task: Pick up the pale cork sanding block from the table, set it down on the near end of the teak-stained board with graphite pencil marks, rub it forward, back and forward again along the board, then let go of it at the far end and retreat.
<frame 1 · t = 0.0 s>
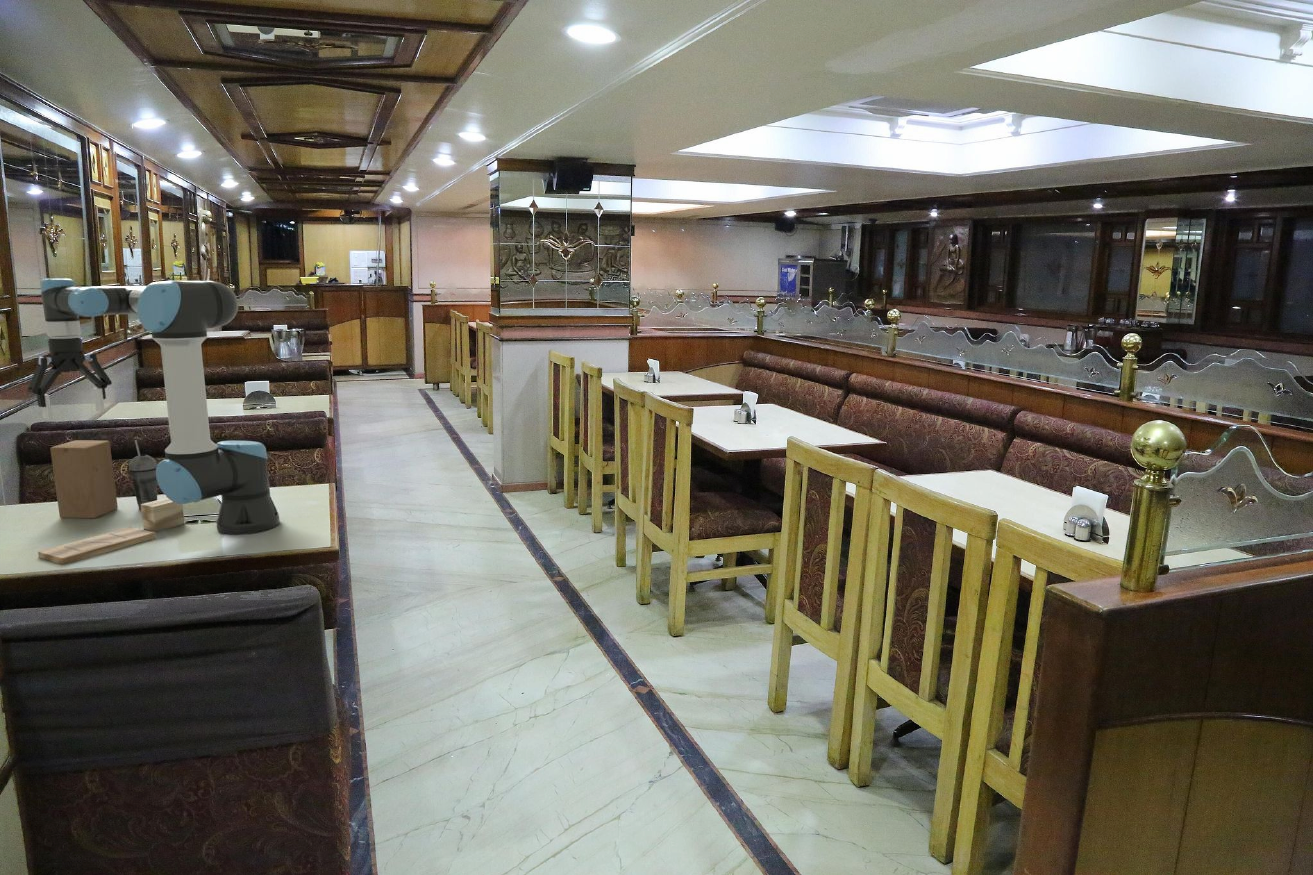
hand: (74, 415, 229), 28 cm above the table, fingers open, 13 cm apart
beverage cup: (148, 508, 240), on the table
wooden block: (89, 514, 235), on the table
board: (99, 547, 206), on the table
sanding block: (164, 527, 223), on the table
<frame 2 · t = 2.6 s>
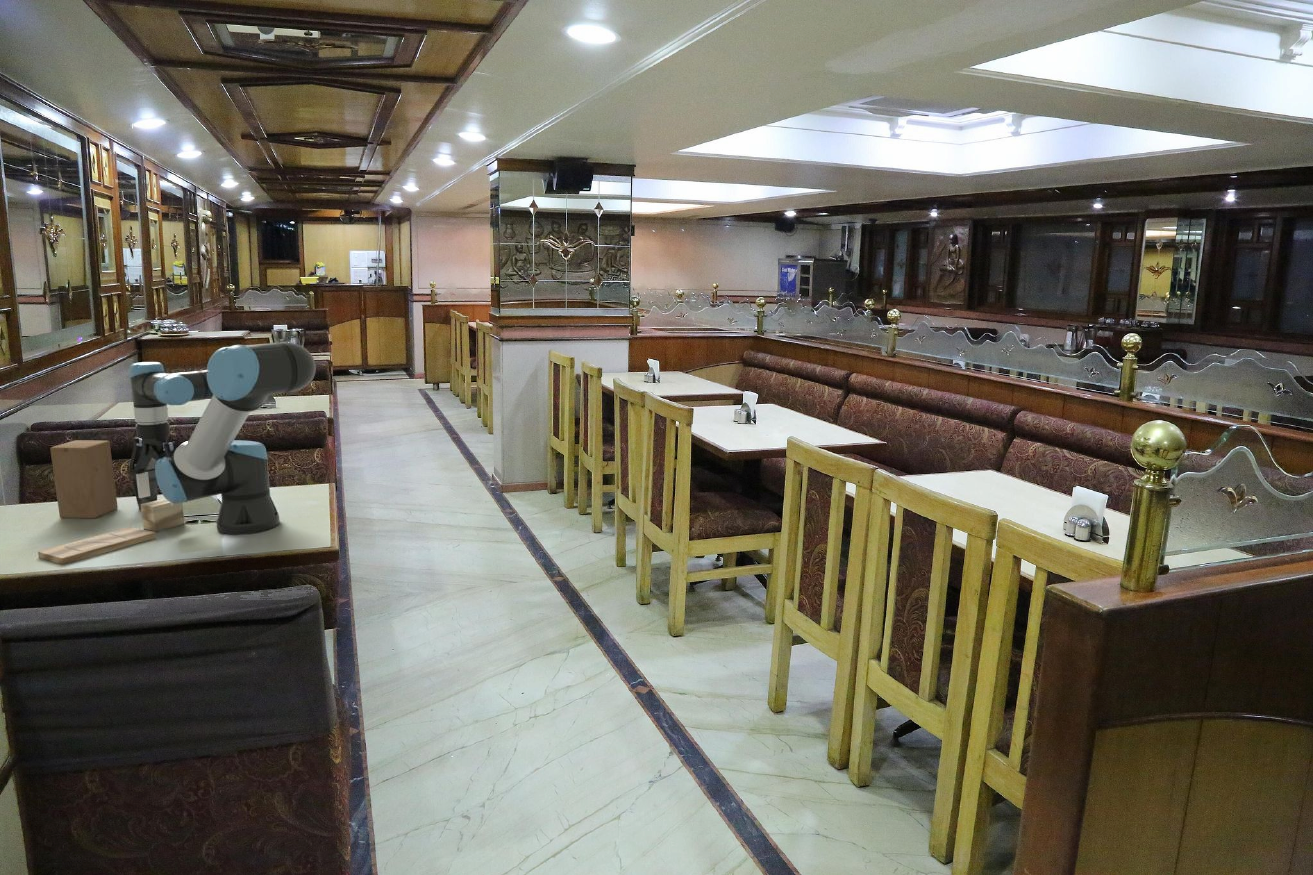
hand: (160, 500, 222), 7 cm above the table, fingers open, 13 cm apart
nothing on the table moved.
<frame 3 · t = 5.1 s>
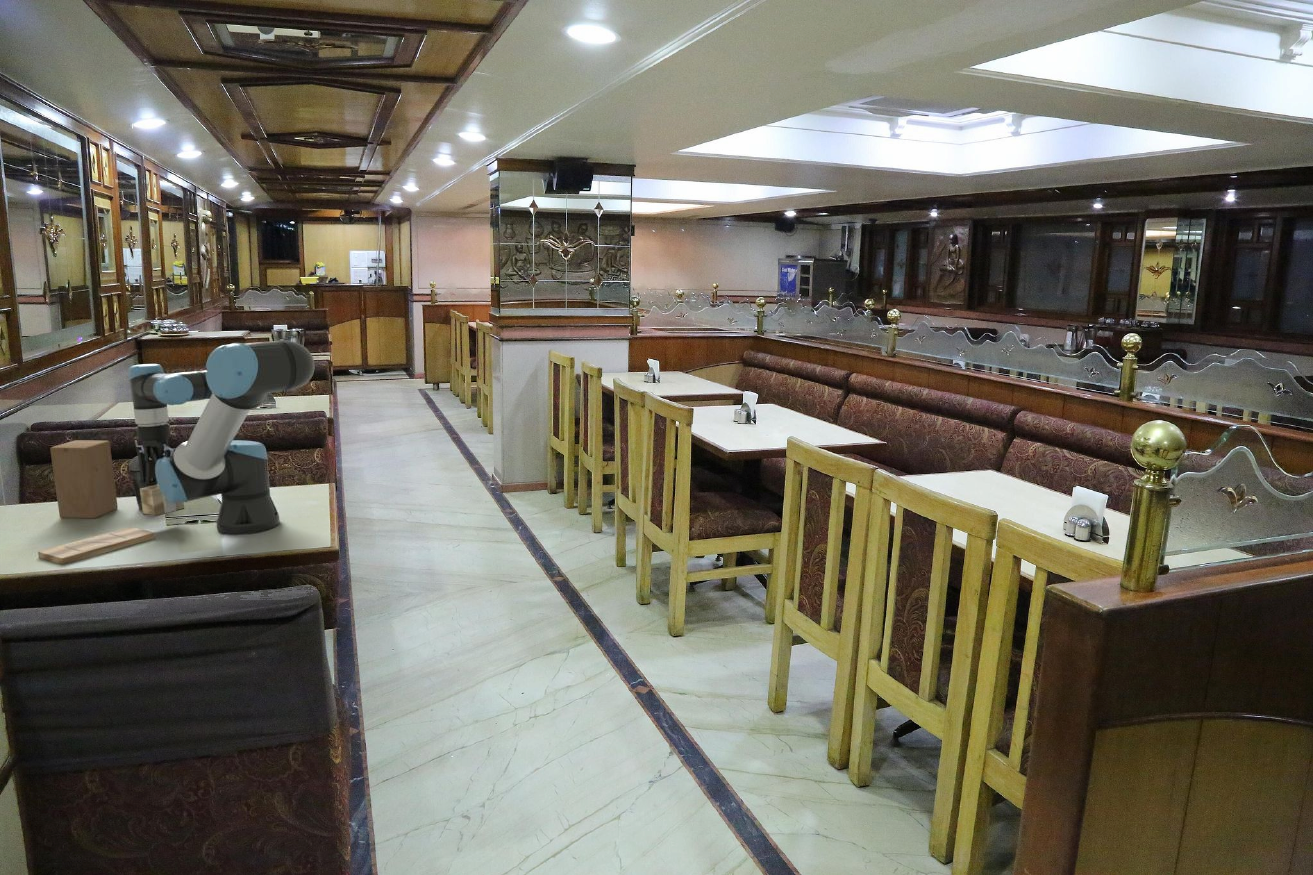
hand: (163, 510, 222), 5 cm above the table, fingers closed on sanding block, 5 cm apart
sanding block: (164, 511, 222), point 4 cm above the table, touching gripper
everything else where it was.
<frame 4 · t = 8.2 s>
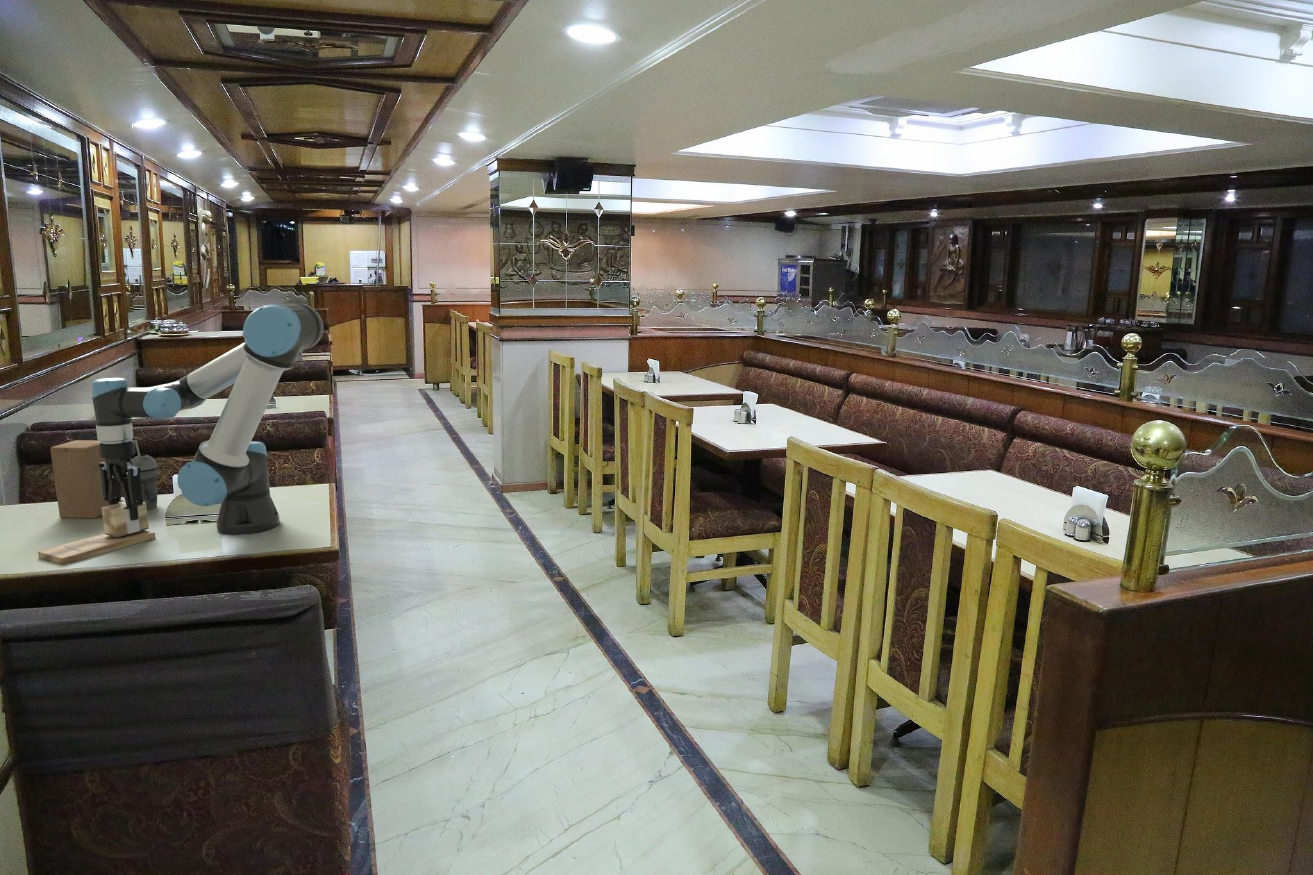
hand: (126, 530, 212), 2 cm above the table, fingers closed on sanding block, 5 cm apart
sanding block: (127, 531, 212), point 2 cm above the table, touching gripper
everything else where it was.
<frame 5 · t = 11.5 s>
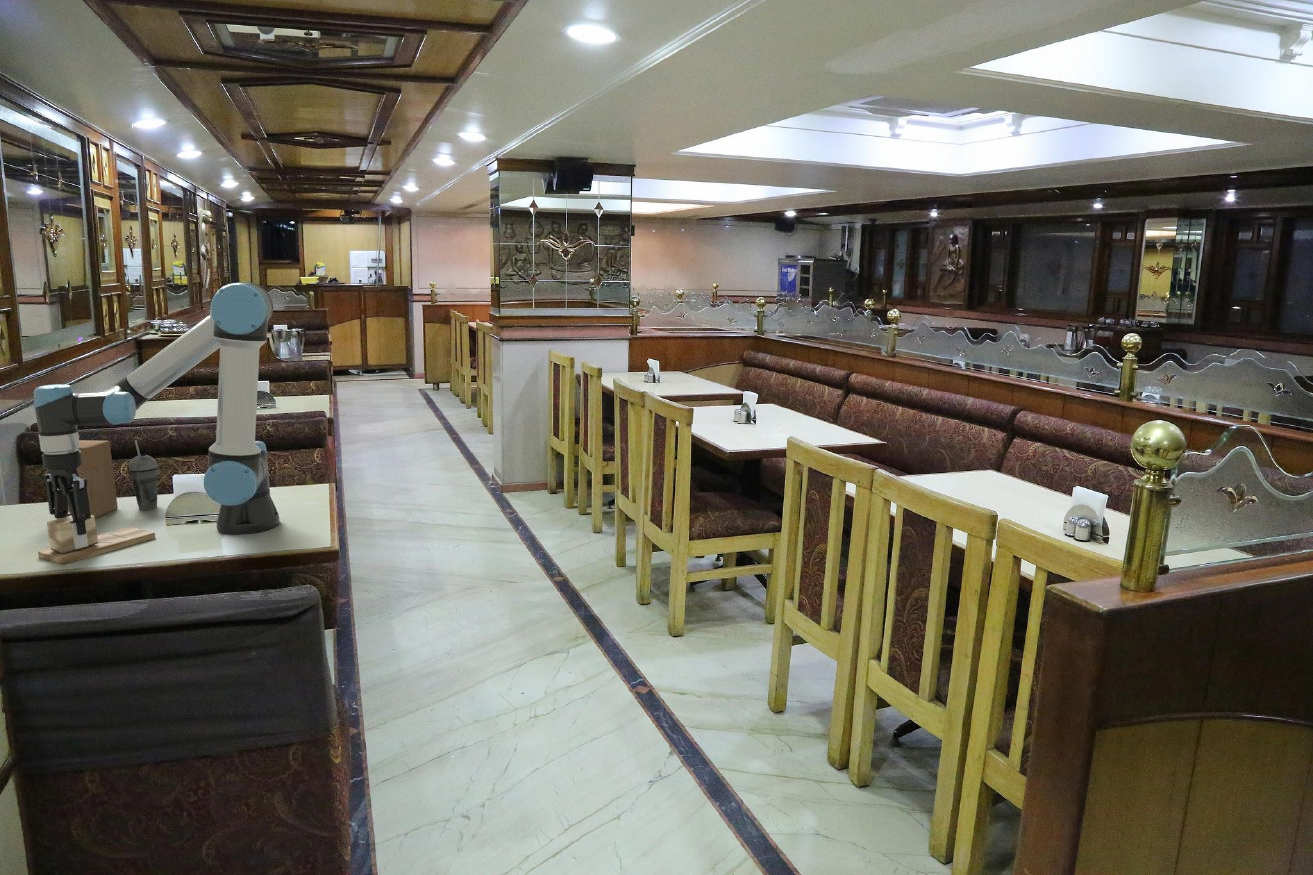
hand: (74, 545, 201), 2 cm above the table, fingers closed on sanding block, 5 cm apart
sanding block: (74, 546, 201), point 2 cm above the table, touching gripper
everything else where it was.
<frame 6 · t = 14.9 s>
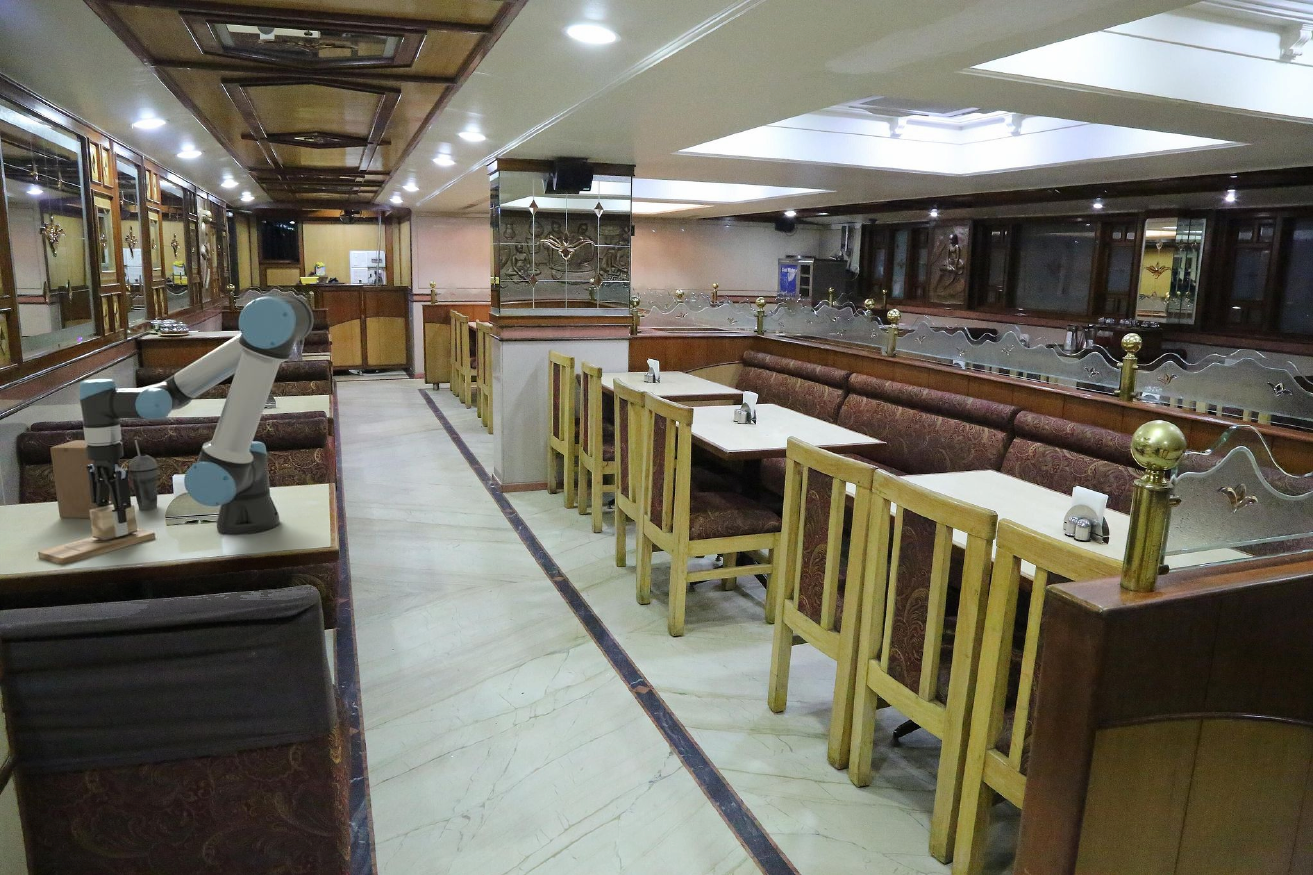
hand: (114, 533, 210), 2 cm above the table, fingers closed on sanding block, 5 cm apart
sanding block: (115, 534, 210), point 2 cm above the table, touching gripper
everything else where it was.
when the fingers open (2 cm above the table, at t = 18.0 s): sanding block stays where it is, resting on board.
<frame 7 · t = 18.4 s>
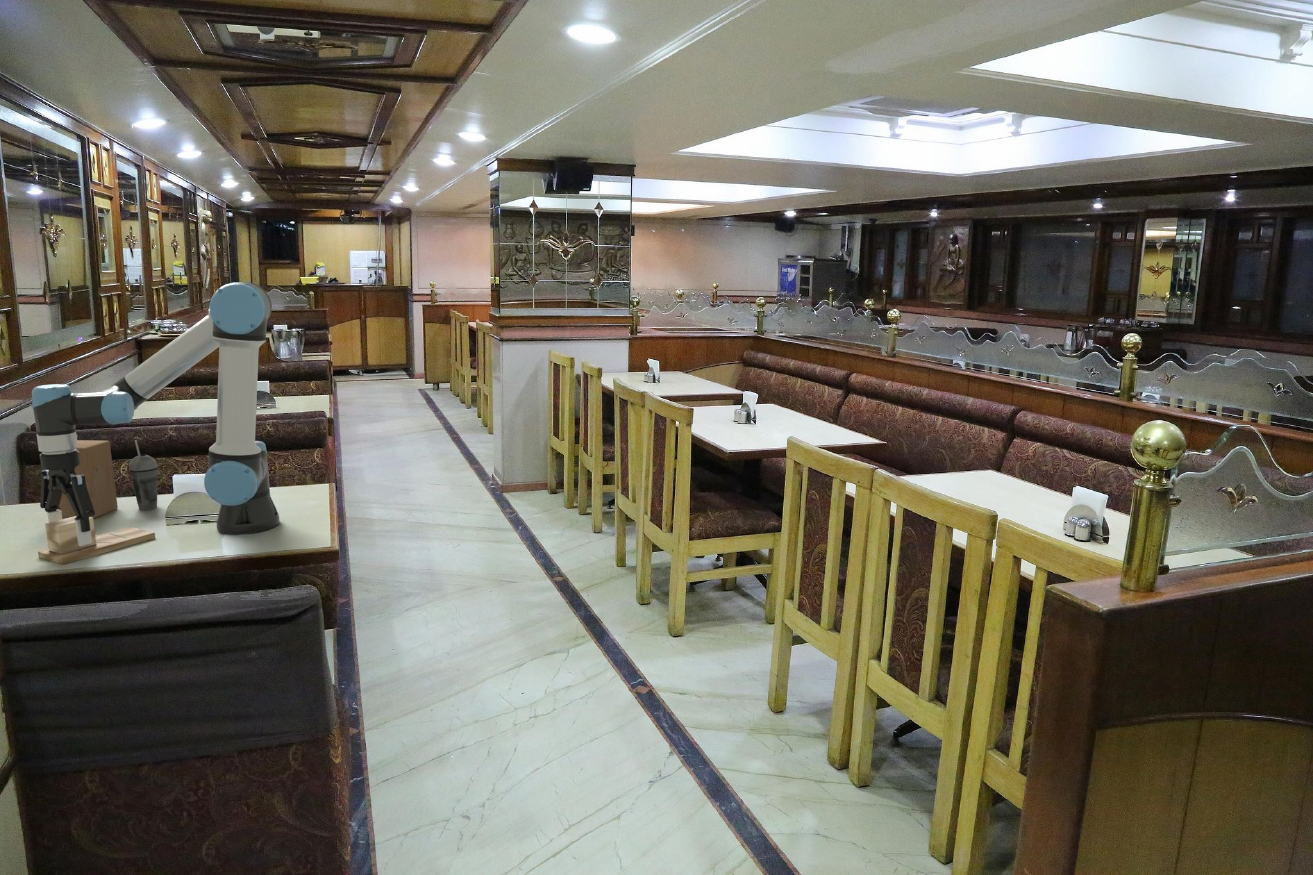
hand: (71, 540, 200), 3 cm above the table, fingers open, 10 cm apart
sanding block: (73, 548, 201), point 2 cm above the table, touching board
everything else where it was.
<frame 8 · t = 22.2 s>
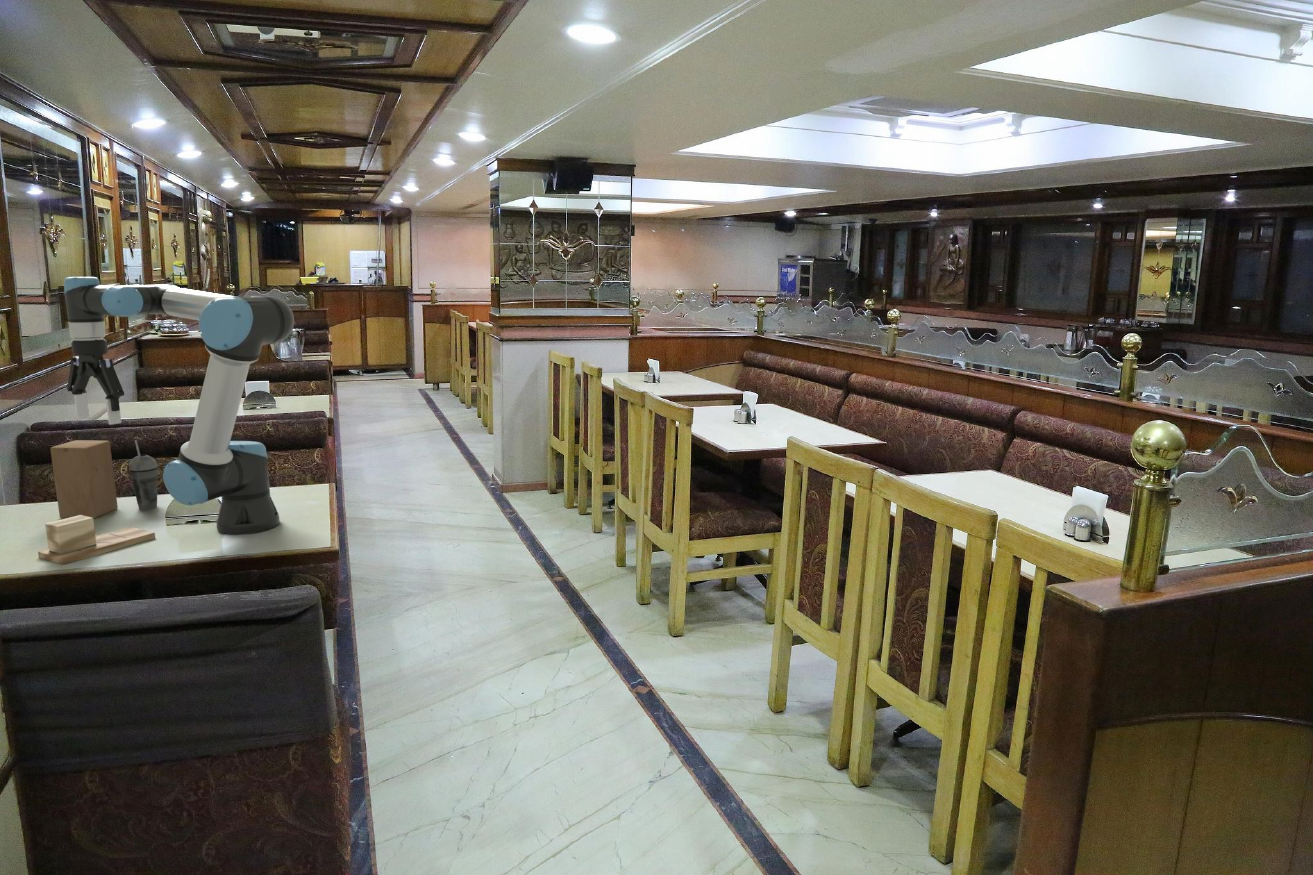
hand: (99, 421, 216), 29 cm above the table, fingers open, 13 cm apart
nothing on the table moved.
at the end: sanding block inside the target area (0.4 cm from its centre), point 1.5 cm above the table; sanding block touching board; sanding block tilted 0° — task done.
